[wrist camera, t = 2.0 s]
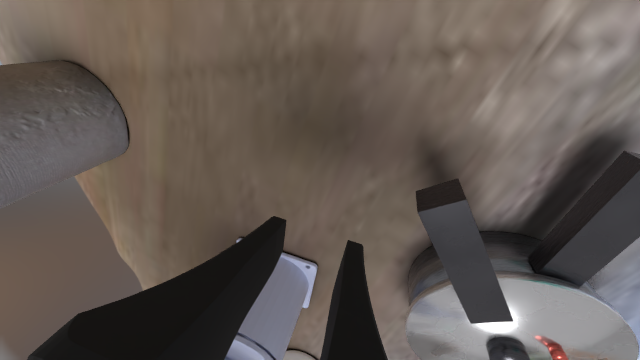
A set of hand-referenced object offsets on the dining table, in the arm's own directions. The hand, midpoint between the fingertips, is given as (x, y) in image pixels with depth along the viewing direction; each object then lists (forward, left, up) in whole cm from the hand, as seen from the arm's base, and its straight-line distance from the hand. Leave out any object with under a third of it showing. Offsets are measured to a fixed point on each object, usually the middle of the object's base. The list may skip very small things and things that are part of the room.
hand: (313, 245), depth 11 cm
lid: (+13, -7, -6) cm, 16 cm away
